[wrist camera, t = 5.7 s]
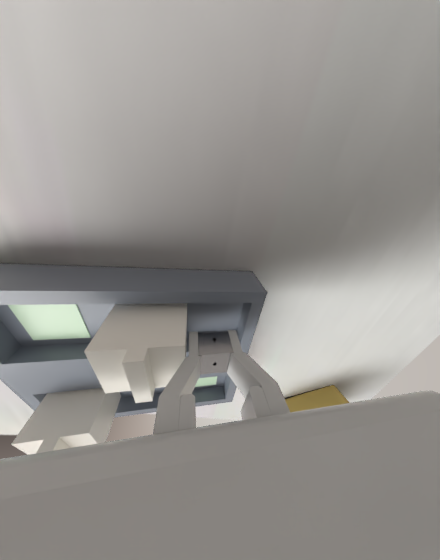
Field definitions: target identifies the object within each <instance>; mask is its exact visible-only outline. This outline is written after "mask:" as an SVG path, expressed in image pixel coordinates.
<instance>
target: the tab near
mask: <svg viewBox="0 0 440 560" xmlns="http://www.w3.org/2000/svg"><path fill="white" fill-rule="evenodd" d="M186 345H187V303H168V304H115V305H114V307H113V308H112V310H111V311H110V313H109V314H108V316H107V317H106V319H105V320H104V322H103V323H102V325H101V327H100V328H99V330H98V331H97V333H96V334H95V336H94V337H93V339H92V340H91V342H90V343H89V345H88V346H87V348H86V349H85V351H84V353H85V355H86V357H87V359H88V361H89V363H90V364H91V366H92V368H93V370H94V372H95V374H96V376H97V378H98V380H99V382H100V384H101V386H102V388H103V390H104V392H105V393H114V392H124V391H132V394H133V397H134V400H135V403H141V402H149V401H153V396H154V391H155V388H161V387H166V386H167V384H168V383H169V381H170V380H171V378H172V377H173V375H174V374H175V372H176V371H177V369H178V368H179V366H180V365H181V363H182V362H183V360H184V359H185V358H186Z"/></svg>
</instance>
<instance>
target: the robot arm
mask: <svg viewBox="0 0 440 560" xmlns="http://www.w3.org/2000/svg"><path fill="white" fill-rule="evenodd" d="M223 372H227V374H228V375H229V377H230V378H231V379H232V381H233V382H234V384H235V385H236V386H237V388H238V389H239V390H240V392H241V393H242V395H243V396H244V397H245V402H244V404H243V407H242V409H241V416H242V420H240V421H234V422H228V423H222V424H216V425H209V426H203V427H197V428H196V412H195V396H194V395H193V394H192V392H193V390H194V388H195V385H196V383H197V381H198V379H199V377H200V375H203V374H211V373H223ZM0 560H440V394H439V393H437V392H434V391H420V392H414V393H408V394H402V395H396V396H389V397H383V398H377V399H371V400H364V401H358V402H352V403H346V404H340V405H333V406H327V407H321V408H315V409H309V410H302V411H296V412H290V410H289V408H288V406H287V403H286V401H285V399H284V397H283V394H282V392H281V390H280V387H279V385H278V383H277V382H276V381H275V380H274V379H273V378H272V377H271V376H270V375H269V374H268V373H266V372H265V371H264V370H263V369H262V368H261V367H260V366H259V365H258V364H257V363H256V362H255V361H254V360H253V359H252V358H251V357H250V356H248V355H247V354H246V353H245V352H243V351H242V348H241V345H240V342H239V339H238V336H237V332H236V330H220V331H198V332H189V356H188V357H186V358H185V359H184V360H183V362H182V363H181V365H180V366H179V368H178V369H177V371H176V372H175V374H174V375H173V377H172V378H171V380H170V381H169V383H168V384H167V386H166V387H165V389H164V390H163V392H162V393H161V394H160V396H159V400H158V406H157V412H156V419H155V424H154V431H153V435H148V436H142V437H135V438H129V439H123V440H117V441H110V442H104V443H98V444H92V445H86V446H80V447H73V448H67V449H61V450H55V451H49V452H42V453H36V454H30V455H24V456H18V457H12V458H5V459H0Z"/></svg>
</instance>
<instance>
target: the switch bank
mask: <svg viewBox="0 0 440 560" xmlns="http://www.w3.org/2000/svg"><path fill="white" fill-rule="evenodd" d="M266 295H267V291H266V290H265V288H264V287H263V286H262V284H261V283H260V281H259V280H258V279H257V277H256V276H255V274H254V273H253V272H251V271H220V270H190V269H159V268H129V267H98V266H68V265H37V264H6V263H0V380H1V381H2V382H3V383H5V384H6V385H7V386H8V387H9V388H10V389H11V390H12V391H13V392H14V393H15V394H17V395H18V396H19V397H20V398H21V399H22V400H23V401H24V402H25V403H26V404H28V405H29V406H30V407H31V408H32V409H33V410H34V411H35V410H36V409H37V407H38V406H39V404H40V403H41V401H42V400H43V399H44V397H45V396H46V394H47V393H56V392H66V391H76V390H86V389H96V388H102V386H101V384H100V382H99V380H98V378H97V376H96V374H95V372H94V370H93V368H92V366H91V364H90V363H89V361H88V359H87V357H86V355H85V353H84V351H85V349H86V348H87V346H88V345H89V343H90V342H91V340H92V339H93V337H94V336H95V334H96V333H97V331H98V330H99V328H100V327H101V325H102V323H103V322H104V320H105V319H106V317H107V316H108V314H109V313H110V311H111V310H112V308H113V307H114V305H115V304H168V303H187V345H186V357H188V356H189V332H198V331H220V330H236V332H237V336H238V339H239V342H240V345H241V348H242V351H243V352H245V353H246V354H248V350H249V347H250V344H251V341H252V338H253V335H254V332H255V329H256V326H257V323H258V320H259V316H260V313H261V310H262V307H263V304H264V301H265V298H266ZM236 388H237V386H236V385H235V384H234V382H233V381H232V379H231V378H230V377H229V375H228V374H227V372H223V373H211V374H203V375H200V377H199V379H198V381H197V383H196V385H195V388H194V390H193V392H192V394H193V395H194V396H195V407H196V406H203V405H210V404H218V403H225V402H232V400H233V397H234V394H235V391H236ZM164 389H165V387H161V388H155V391H154V396H153V401H149V402H141V403H135V400H134V397H133V394H132V391H124V392H120V394H121V398H120V401H119V404H118V407H117V410H116V413H115V416H114V417H121V416H128V415H135V414H143V413H151V412H157V406H158V400H159V396H160V394H161V393H162V392H163V390H164Z"/></svg>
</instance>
